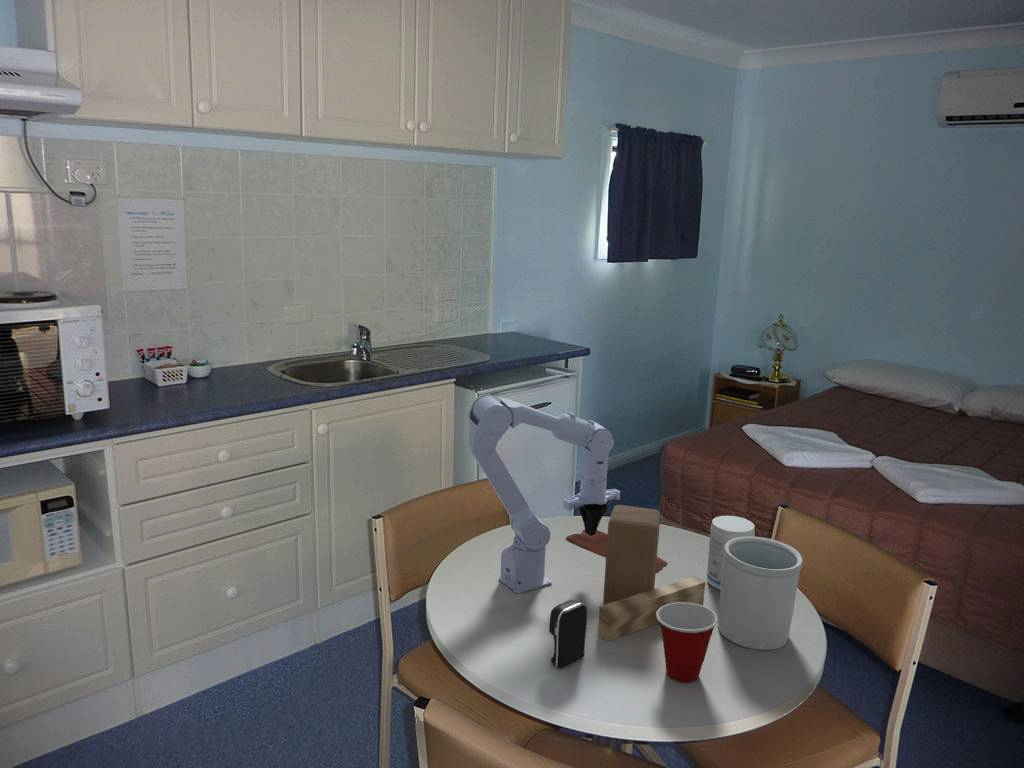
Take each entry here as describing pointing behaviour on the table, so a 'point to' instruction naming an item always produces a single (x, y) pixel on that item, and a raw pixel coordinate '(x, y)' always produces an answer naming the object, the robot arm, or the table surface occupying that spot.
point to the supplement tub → (719, 536)
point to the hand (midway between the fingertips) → (590, 533)
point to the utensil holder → (758, 592)
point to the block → (631, 552)
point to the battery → (568, 632)
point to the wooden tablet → (601, 545)
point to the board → (646, 607)
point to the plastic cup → (685, 638)
